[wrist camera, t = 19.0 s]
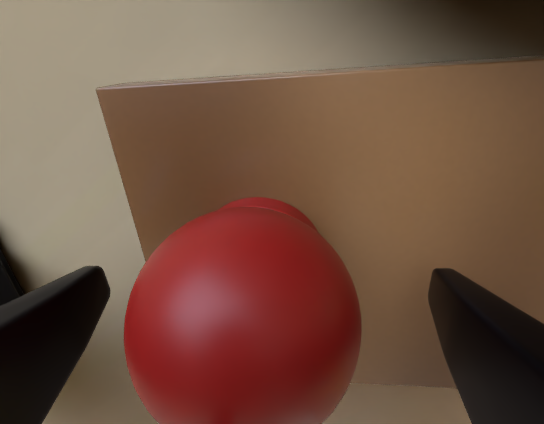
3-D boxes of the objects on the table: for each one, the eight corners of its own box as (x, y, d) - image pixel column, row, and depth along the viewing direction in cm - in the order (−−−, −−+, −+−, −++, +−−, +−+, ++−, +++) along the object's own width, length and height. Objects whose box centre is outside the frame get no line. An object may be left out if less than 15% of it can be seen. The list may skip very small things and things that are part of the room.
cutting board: (190, 345, 14) (178, 375, 13) (123, 83, 9) (94, 87, 8) (764, 365, 12) (822, 405, 10) (1075, 19, 7) (1258, 11, 6)
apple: (194, 313, 11) (91, 553, 6) (163, 175, 9) (-53, 360, 4) (343, 317, 11) (381, 588, 5) (350, 169, 8) (430, 382, 3)
